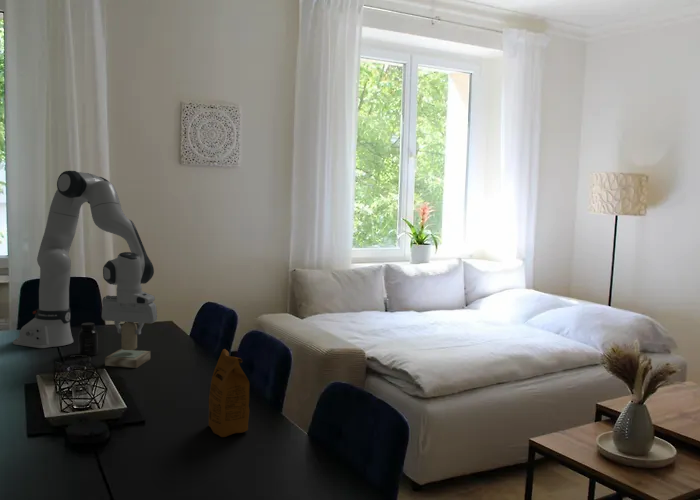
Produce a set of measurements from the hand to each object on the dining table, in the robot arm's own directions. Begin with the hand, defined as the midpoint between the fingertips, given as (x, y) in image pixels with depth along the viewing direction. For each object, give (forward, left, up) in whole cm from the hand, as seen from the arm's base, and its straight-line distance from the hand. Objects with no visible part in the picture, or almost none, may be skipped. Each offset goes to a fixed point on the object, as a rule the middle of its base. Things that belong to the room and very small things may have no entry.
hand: (129, 333), depth 242 cm
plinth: (0, 0, -11) cm, 11 cm away
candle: (0, 0, -6) cm, 6 cm away
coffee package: (+55, -54, -11) cm, 78 cm away
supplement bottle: (-19, +6, -11) cm, 23 cm away
